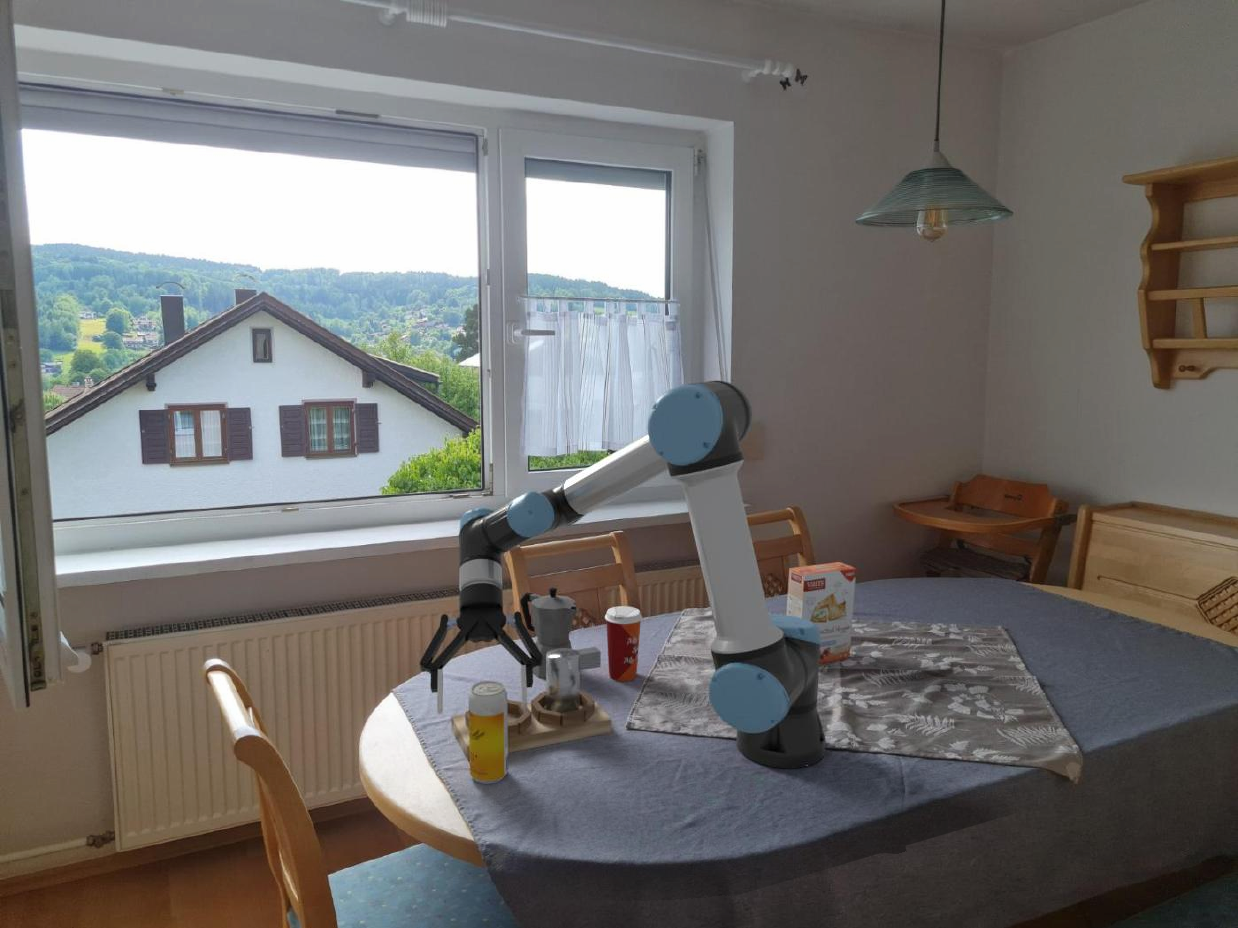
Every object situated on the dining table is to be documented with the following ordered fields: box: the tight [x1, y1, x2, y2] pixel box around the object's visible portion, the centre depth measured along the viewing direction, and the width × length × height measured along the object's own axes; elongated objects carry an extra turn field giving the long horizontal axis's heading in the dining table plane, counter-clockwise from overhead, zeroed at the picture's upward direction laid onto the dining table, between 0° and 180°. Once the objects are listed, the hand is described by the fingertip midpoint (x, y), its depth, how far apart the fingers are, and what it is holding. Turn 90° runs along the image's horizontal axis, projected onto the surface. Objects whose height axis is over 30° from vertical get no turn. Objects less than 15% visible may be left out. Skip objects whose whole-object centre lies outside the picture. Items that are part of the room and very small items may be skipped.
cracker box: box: [786, 561, 857, 665], centre depth 187 cm, size 14×6×21 cm, turn 115°
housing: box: [450, 690, 612, 761], centre depth 154 cm, size 12×26×4 cm, turn 114°
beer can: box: [468, 680, 509, 785], centre depth 138 cm, size 6×6×15 cm
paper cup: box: [604, 605, 643, 682], centre depth 177 cm, size 8×8×14 cm
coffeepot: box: [519, 587, 580, 679], centre depth 180 cm, size 15×9×18 cm, turn 55°
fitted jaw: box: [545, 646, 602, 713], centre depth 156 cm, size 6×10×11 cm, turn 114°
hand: (482, 708), depth 140 cm, fingers open, 13 cm apart
